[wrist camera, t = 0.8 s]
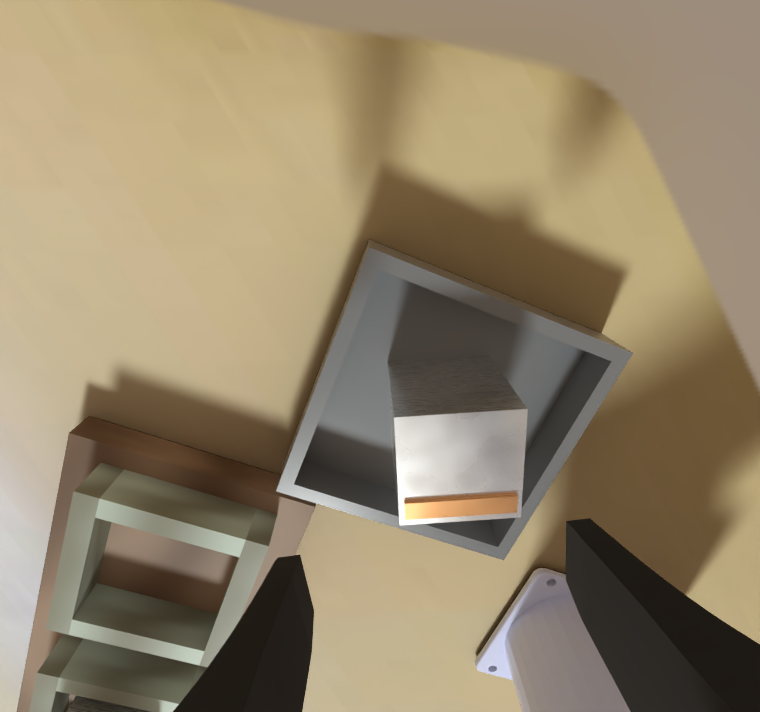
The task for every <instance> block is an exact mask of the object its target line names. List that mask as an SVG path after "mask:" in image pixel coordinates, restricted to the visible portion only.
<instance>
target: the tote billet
mask: <svg viewBox="0 0 760 712" xmlns="http://www.w3.org/2000/svg"><path fill="white" fill-rule="evenodd" d="M387 364H388V382H389V401H390V419H391V437H392V453H393V463H394V473H395V484H396V494H397V504H398V514H399V524H400V525H414V524H429V523H444V522H459V521H474V520H490V519H505V518H520V517H521V508H522V492H523V477H524V461H525V445H526V430H527V414H528V408H527V407H526V406H525V404H524V403H523V401H522V400H521V399H520V397H519V396H518V395H517V393H516V392H515V390H514V389H513V388H512V386H511V385H510V383H509V382H508V381H507V379H506V378H505V377H504V375H503V374H502V372H501V371H500V370H499V368H498V367H497V365H496V364H495V363H494V361H493V360H492V358H491V357H490V356H473V357H457V358H442V359H426V360H410V361H394V362H387Z"/></svg>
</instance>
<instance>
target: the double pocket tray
mask: <svg viewBox="0 0 760 712" xmlns="http://www.w3.org/2000/svg"><path fill="white" fill-rule="evenodd" d="M280 476H281V475H278V474H275V473H272V472H268V471H265V470H262V469H259V468H255V467H252V466H249V465H246V464H242V463H239V462H236V461H233V460H229V459H226V458H223V457H220V456H216V455H213V454H210V453H207V452H203V451H200V450H197V449H194V448H191V447H187V446H184V445H181V444H178V443H174V442H171V441H168V440H165V439H161V438H158V437H155V436H152V435H148V434H145V433H142V432H139V431H135V430H132V429H129V428H126V427H122V426H119V425H116V424H113V423H109V422H106V421H103V420H100V419H97V418H93V417H90V416H89V417H88V418H86V419H85V420H84V421H83V422H82V423H80V424H79V425H78V426H77V427H76V428H74V429H73V430H72V431H71V432H70V433H69V436H68V441H67V447H66V452H65V457H64V463H63V468H62V473H61V479H60V484H59V489H58V495H57V500H56V505H55V511H54V516H53V521H52V527H51V532H50V537H49V543H48V548H47V553H46V558H45V564H44V569H43V574H42V580H41V585H40V590H39V596H38V601H37V606H36V612H35V617H34V622H33V628H32V633H31V638H30V644H29V649H28V654H27V660H26V665H25V670H24V676H23V681H22V686H21V691H20V697H19V702H18V707H17V712H67V710H68V709H69V707H70V705H71V703H72V702H73V700H74V698H75V696H81V697H86V698H90V699H95V700H100V701H104V702H109V703H114V704H118V705H123V706H127V707H132V708H137V709H141V710H146V711H151V712H173V711H174V710H175V708H176V707H177V706H178V705H179V703H180V702H181V701H182V700H183V698H184V697H185V696H186V695H187V693H188V692H189V691H190V690H191V688H192V687H193V686H194V685H195V683H196V682H197V681H198V679H199V678H200V677H201V675H202V674H203V673H204V671H205V670H206V669H207V667H208V666H209V665H210V663H211V662H212V660H213V659H214V657H215V656H216V655H217V653H218V652H219V650H220V649H221V647H222V646H223V644H224V643H225V642H226V640H227V639H228V637H229V636H230V634H231V633H232V631H233V630H234V628H235V627H236V625H237V623H238V622H239V620H240V619H241V617H242V616H243V614H244V612H245V611H246V609H247V608H248V606H249V604H250V603H251V601H252V599H253V598H254V596H255V594H256V593H257V591H258V589H259V588H260V586H261V584H262V583H263V581H264V579H265V577H266V576H267V574H268V572H269V570H270V569H271V567H272V565H273V563H274V561H275V560H276V559H277V558H278V557H286V556H294V555H295V554H296V551H297V549H298V547H299V544H300V542H301V540H302V537H303V535H304V532H305V530H306V528H307V525H308V523H309V521H310V518H311V516H312V514H313V511H314V509H315V505H316V503H313V502H310V501H307V500H303V499H300V498H297V497H293V496H290V495H287V494H283V493H280V492H277V491H276V489H277V486H278V483H279V479H280Z"/></svg>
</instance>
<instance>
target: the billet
mask: <svg viewBox="0 0 760 712" xmlns="http://www.w3.org/2000/svg"><path fill="white" fill-rule="evenodd" d="M67 712H151V711H146V710H141V709H137V708H132V707H127V706H123V705H118V704H114V703H109V702H104V701H100V700H95V699H90V698H86V697H81V696H75V698H74V700H73V702H72V703H71V705H70V707H69V709H68V710H67Z"/></svg>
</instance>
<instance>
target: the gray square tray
mask: <svg viewBox="0 0 760 712" xmlns="http://www.w3.org/2000/svg"><path fill="white" fill-rule="evenodd" d="M632 354H633V353H632V352H630V351H629V350H627V349H625V348H624V347H622V346H621V345H619V344H618V343H616V342H614V341H613V340H611V339H610V338H608V337H607V336H605V335H603V334H602V333H599V332H597V331H594V330H592V329H589V328H587V327H584V326H582V325H579V324H577V323H574V322H572V321H570V320H567V319H565V318H562V317H560V316H557V315H555V314H552V313H550V312H547V311H545V310H542V309H540V308H537V307H535V306H532V305H530V304H528V303H525V302H523V301H520V300H518V299H515V298H513V297H510V296H508V295H505V294H503V293H500V292H498V291H495V290H493V289H490V288H488V287H485V286H483V285H481V284H478V283H476V282H473V281H471V280H468V279H466V278H463V277H461V276H458V275H456V274H453V273H451V272H448V271H446V270H443V269H441V268H438V267H436V266H434V265H431V264H429V263H426V262H424V261H421V260H419V259H416V258H414V257H411V256H409V255H406V254H404V253H401V252H399V251H396V250H394V249H391V248H389V247H387V246H384V245H382V244H379V243H377V242H374V241H372V240H368V243H367V245H366V248H365V251H364V253H363V256H362V259H361V261H360V264H359V266H358V269H357V272H356V274H355V277H354V280H353V282H352V285H351V288H350V290H349V293H348V295H347V298H346V301H345V303H344V306H343V309H342V311H341V314H340V317H339V319H338V322H337V324H336V327H335V330H334V332H333V335H332V338H331V340H330V343H329V345H328V348H327V351H326V353H325V356H324V359H323V361H322V364H321V367H320V369H319V372H318V374H317V377H316V380H315V382H314V385H313V388H312V390H311V393H310V396H309V398H308V401H307V403H306V406H305V409H304V411H303V414H302V417H301V419H300V422H299V424H298V427H297V430H296V432H295V435H294V438H293V440H292V443H291V446H290V448H289V451H288V453H287V456H286V459H285V462H284V466H283V469H282V472H281V476H280V479H279V483H278V486H277V489H276V491H277V492H280V493H283V494H287V495H290V496H293V497H297V498H300V499H303V500H307V501H310V502H313V503H316V504H320V505H323V506H326V507H330V508H333V509H336V510H340V511H343V512H346V513H350V514H353V515H356V516H359V517H363V518H366V519H369V520H373V521H376V522H379V523H383V524H386V525H389V526H393V527H396V528H399V529H402V530H406V531H409V532H412V533H416V534H419V535H422V536H426V537H429V538H432V539H436V540H439V541H442V542H445V543H449V544H452V545H455V546H459V547H462V548H465V549H469V550H472V551H475V552H479V553H482V554H485V555H488V556H492V557H495V558H498V559H502V560H504V559H505V558H506V556H507V554H508V553H509V551H510V550H511V548H512V546H513V545H514V543H515V542H516V540H517V538H518V537H519V535H520V534H521V532H522V530H523V529H524V527H525V525H526V524H527V522H528V521H529V519H530V517H531V516H532V514H533V513H534V511H535V509H536V508H537V506H538V505H539V503H540V501H541V500H542V498H543V497H544V495H545V493H546V492H547V490H548V489H549V487H550V485H551V484H552V482H553V481H554V479H555V477H556V476H557V474H558V473H559V471H560V469H561V468H562V466H563V465H564V463H565V461H566V460H567V458H568V457H569V455H570V453H571V452H572V450H573V449H574V447H575V445H576V444H577V442H578V441H579V439H580V437H581V436H582V434H583V433H584V431H585V429H586V428H587V426H588V425H589V423H590V421H591V420H592V418H593V416H594V415H595V413H596V412H597V410H598V408H599V407H600V405H601V404H602V402H603V400H604V399H605V397H606V396H607V394H608V392H609V391H610V389H611V388H612V386H613V384H614V383H615V381H616V380H617V378H618V376H619V375H620V373H621V372H622V370H623V368H624V367H625V365H626V364H627V362H628V360H629V359H630V357H631V356H632ZM473 356H490V357H491V358H492V360H493V361H494V363H495V364H496V365H497V367H498V368H499V370H500V371H501V372H502V374H503V375H504V377H505V378H506V379H507V381H508V382H509V383H510V385H511V386H512V388H513V389H514V390H515V392H516V393H517V395H518V396H519V397H520V399H521V400H522V401H523V403H524V404H525V406H526V407H527V408H528V414H527V430H526V445H525V461H524V477H523V492H522V508H521V517H520V518H505V519H490V520H474V521H459V522H444V523H429V524H414V525H400V524H399V514H398V504H397V494H396V484H395V473H394V463H393V453H392V437H391V419H390V401H389V382H388V364H387V362H394V361H410V360H426V359H442V358H457V357H473Z"/></svg>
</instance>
